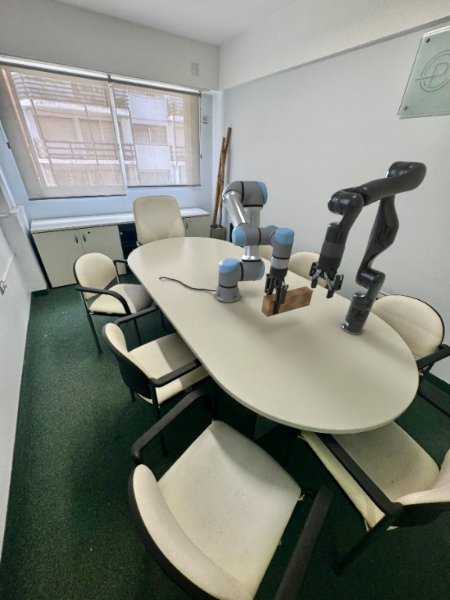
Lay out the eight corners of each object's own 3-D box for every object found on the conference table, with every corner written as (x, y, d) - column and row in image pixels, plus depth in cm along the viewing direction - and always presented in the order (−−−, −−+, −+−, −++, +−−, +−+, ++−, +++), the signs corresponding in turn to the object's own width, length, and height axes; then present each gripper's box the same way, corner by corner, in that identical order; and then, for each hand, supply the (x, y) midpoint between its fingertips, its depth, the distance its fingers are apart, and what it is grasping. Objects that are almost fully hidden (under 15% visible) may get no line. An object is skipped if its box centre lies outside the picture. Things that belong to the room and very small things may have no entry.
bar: (267, 317, 112) (269, 301, 107) (261, 311, 116) (263, 296, 111) (309, 305, 122) (313, 290, 117) (302, 300, 125) (306, 286, 121)
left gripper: (300, 273, 97) (290, 319, 109) (274, 257, 111) (267, 300, 123) (285, 276, 94) (276, 323, 107) (260, 259, 108) (254, 303, 120)
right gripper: (355, 258, 82) (341, 300, 90) (325, 245, 93) (315, 283, 101) (339, 261, 79) (326, 303, 87) (309, 247, 90) (301, 286, 98)
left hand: (271, 310), depth 115 cm, fingers closed on bar, 5 cm apart
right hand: (320, 292), depth 94 cm, fingers open, 8 cm apart
